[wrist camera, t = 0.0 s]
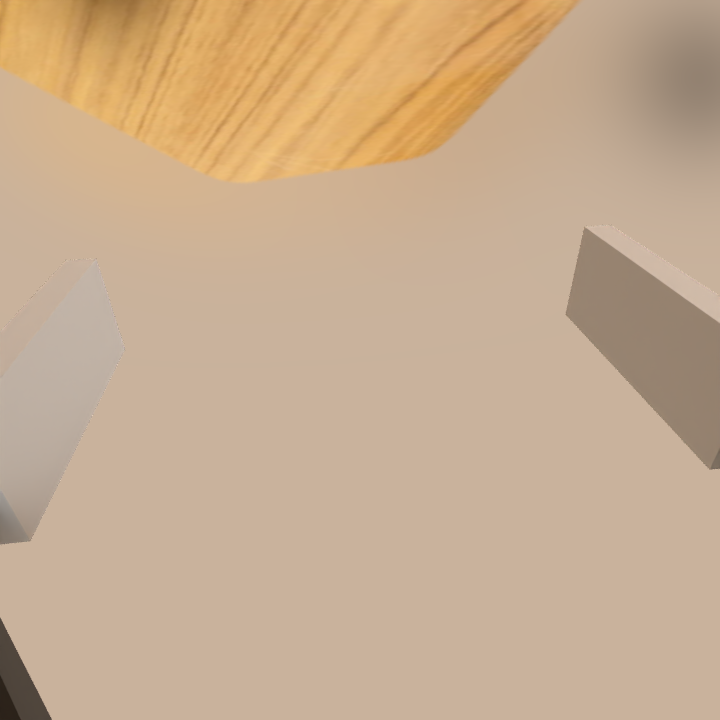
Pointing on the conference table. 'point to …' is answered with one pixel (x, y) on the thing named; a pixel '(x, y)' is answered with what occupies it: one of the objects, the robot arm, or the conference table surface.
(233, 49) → the conference table surface
